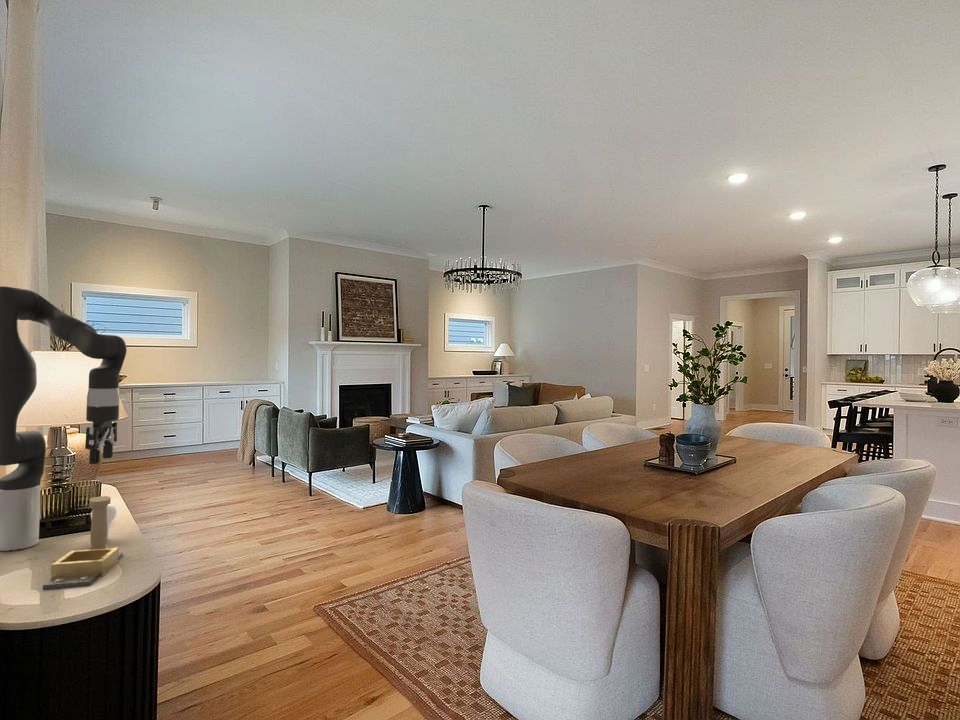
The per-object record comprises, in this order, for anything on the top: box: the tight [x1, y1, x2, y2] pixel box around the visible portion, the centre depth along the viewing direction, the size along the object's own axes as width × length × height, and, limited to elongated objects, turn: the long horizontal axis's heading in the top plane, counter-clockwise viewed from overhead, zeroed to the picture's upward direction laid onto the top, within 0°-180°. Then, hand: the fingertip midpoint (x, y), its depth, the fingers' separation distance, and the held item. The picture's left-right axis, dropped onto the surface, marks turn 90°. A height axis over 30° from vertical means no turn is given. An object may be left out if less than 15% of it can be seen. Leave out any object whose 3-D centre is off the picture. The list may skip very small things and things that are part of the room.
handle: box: [88, 495, 112, 549], centre depth 146 cm, size 5×6×15 cm
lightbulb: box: [90, 503, 117, 539], centre depth 155 cm, size 6×6×11 cm
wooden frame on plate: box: [42, 547, 124, 590], centre depth 132 cm, size 11×20×4 cm, turn 16°
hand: (101, 460), depth 146 cm, fingers open, 8 cm apart
